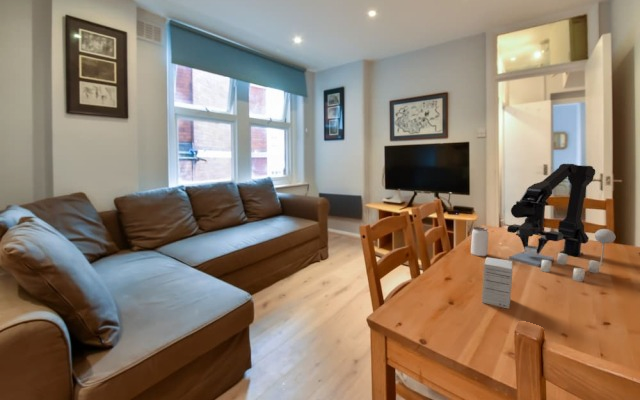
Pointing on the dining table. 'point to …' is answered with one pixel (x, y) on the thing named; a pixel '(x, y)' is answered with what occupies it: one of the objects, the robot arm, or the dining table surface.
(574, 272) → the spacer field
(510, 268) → the supplement box
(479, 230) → the can
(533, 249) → the grey faceted polyhedron
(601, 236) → the lollipop
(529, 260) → the board
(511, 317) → the dining table surface
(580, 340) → the dining table surface
